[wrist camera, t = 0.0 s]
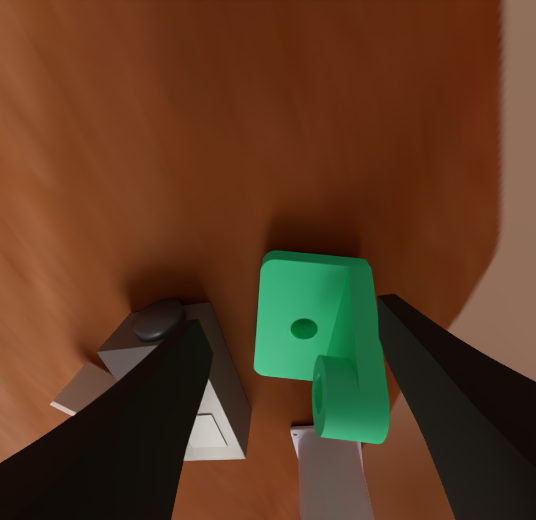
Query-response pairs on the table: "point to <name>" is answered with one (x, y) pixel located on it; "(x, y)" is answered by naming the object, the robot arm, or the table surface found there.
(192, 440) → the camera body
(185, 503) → the table surface
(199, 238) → the table surface
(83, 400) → the side door
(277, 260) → the camera mount
